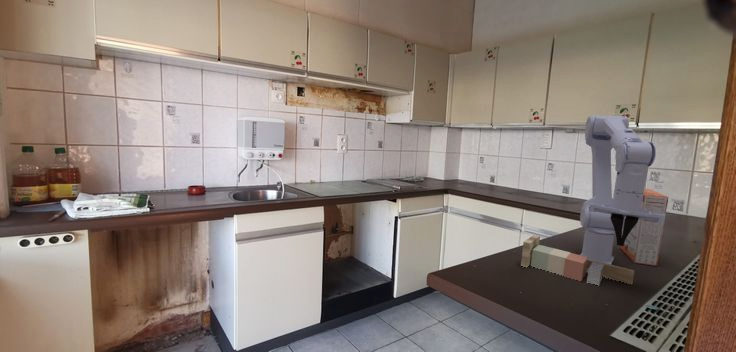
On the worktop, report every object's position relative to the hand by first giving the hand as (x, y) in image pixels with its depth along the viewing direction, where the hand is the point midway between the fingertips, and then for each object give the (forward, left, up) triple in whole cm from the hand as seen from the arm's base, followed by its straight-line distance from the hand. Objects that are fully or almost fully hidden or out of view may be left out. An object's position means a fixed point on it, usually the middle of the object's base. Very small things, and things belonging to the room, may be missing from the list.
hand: (620, 244), depth 83 cm
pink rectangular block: (+3, -8, -10) cm, 13 cm away
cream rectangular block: (+3, -12, -10) cm, 16 cm away
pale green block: (+3, -16, -10) cm, 19 cm away
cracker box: (-28, +3, -10) cm, 30 cm away
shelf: (+3, -8, -10) cm, 13 cm away
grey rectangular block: (+3, -4, -10) cm, 11 cm away
